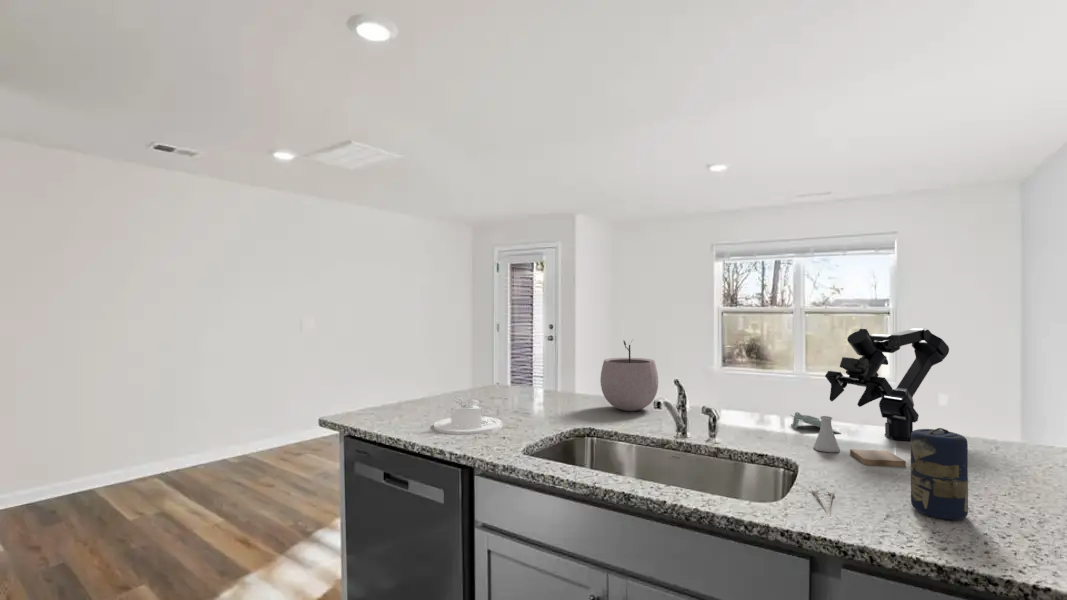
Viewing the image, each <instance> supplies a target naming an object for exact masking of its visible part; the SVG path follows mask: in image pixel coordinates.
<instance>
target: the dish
mask: <svg viewBox="0 0 1067 600" xmlns="http://www.w3.org/2000/svg"><path fill="white" fill-rule="evenodd" d="M454 400H455V402H456V404H458V405H457V406H455V407H453V408H452V407H451V408H450V409H451V410H450V411H451V412H450V415H451V417H447V418H443V419H440V420H437V421H435V422H434V423H433V429H434V430H435V431H437V432H440V433H443V434H449V435H450V434H451V435H476V434H484V433H489V432H494V431H496V430H499V429H500V428H502V427H503V421H502V420H501V419H498V418H497V417H496V418H495V417H491V416H485V415H484V416H483V415H482V413H483V411H482V407H481V406H480V407H479V406H478V404H480V401H479V400H477V399H473V398H472V399H467V400H465V401H464V400H463V398H461V397H459V396H458V397H457V396H456V397H454ZM483 421H486V422H488V423H487V424H486V423H485V424H482V422H483ZM451 425H475V426H451Z"/></svg>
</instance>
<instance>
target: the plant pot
mask: <svg viewBox="0 0 1067 600" xmlns="http://www.w3.org/2000/svg"><path fill="white" fill-rule="evenodd" d="M633 341H634V339H632V340H631V342H630V343H629V344H628V347H627V346H626V345H627V343H626V341H625V340H623V345H624V347H625V349H626V350H627V351H628V357H614V358H613V357H612V358H605V359H604V360H603V362H602V366H601V371H600V381H599V382H600V387H601V392H602V394H603V396H604V398H605V400H606V401H607V402H608V404H610V405H611V406H612V407H613V408H616V409H619V410H621V411H626V412H634V411H636V412H637V411H640V410H643V409H645V408H647V407H648V406H649V405H651V404H652V403H653V401H654V400H655V397H656V396H657V392H658V389H659V376H658V375H659V374H658V369H657V365H656V362H655V359H650V358H643V357H641V358H639V357H631V343H632V342H633Z"/></svg>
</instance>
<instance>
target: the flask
mask: <svg viewBox="0 0 1067 600" xmlns="http://www.w3.org/2000/svg"><path fill="white" fill-rule="evenodd" d="M819 417H820V418H819V419H820V421H821V427H819V428H820V429H819V431H818V434H817V438H816V440H815V442H814V445H813V449H814V450H816V451H819V452H824V453H825V452H826V453H840V451H841V448H840V446H839V443H838V441H837V438H836V436H835V432H833V430H832V429H833V425H832V420H833V417H832V416H829V415H828V416H827V415H820V416H819Z"/></svg>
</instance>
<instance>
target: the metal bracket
mask: <svg viewBox="0 0 1067 600" xmlns="http://www.w3.org/2000/svg"><path fill="white" fill-rule="evenodd" d="M790 416H791V417H792V418H793V422H792V423H791V424H790V427H792V428H793V429H794V430H797V429H798V425H799V422H802V423H805V424H808V425H811V426H814V427H815V426H816V427H817V428H821V419H820V418H818V417H815V416H811V415H806V414H802V413H800V412H798V411H796V412H795V413H794V415H792V414H790ZM832 430H833V433H834V434H838V435H839V434H840V435H841V434H842V432H840V431H837V430H836V429H834V428H832Z"/></svg>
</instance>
